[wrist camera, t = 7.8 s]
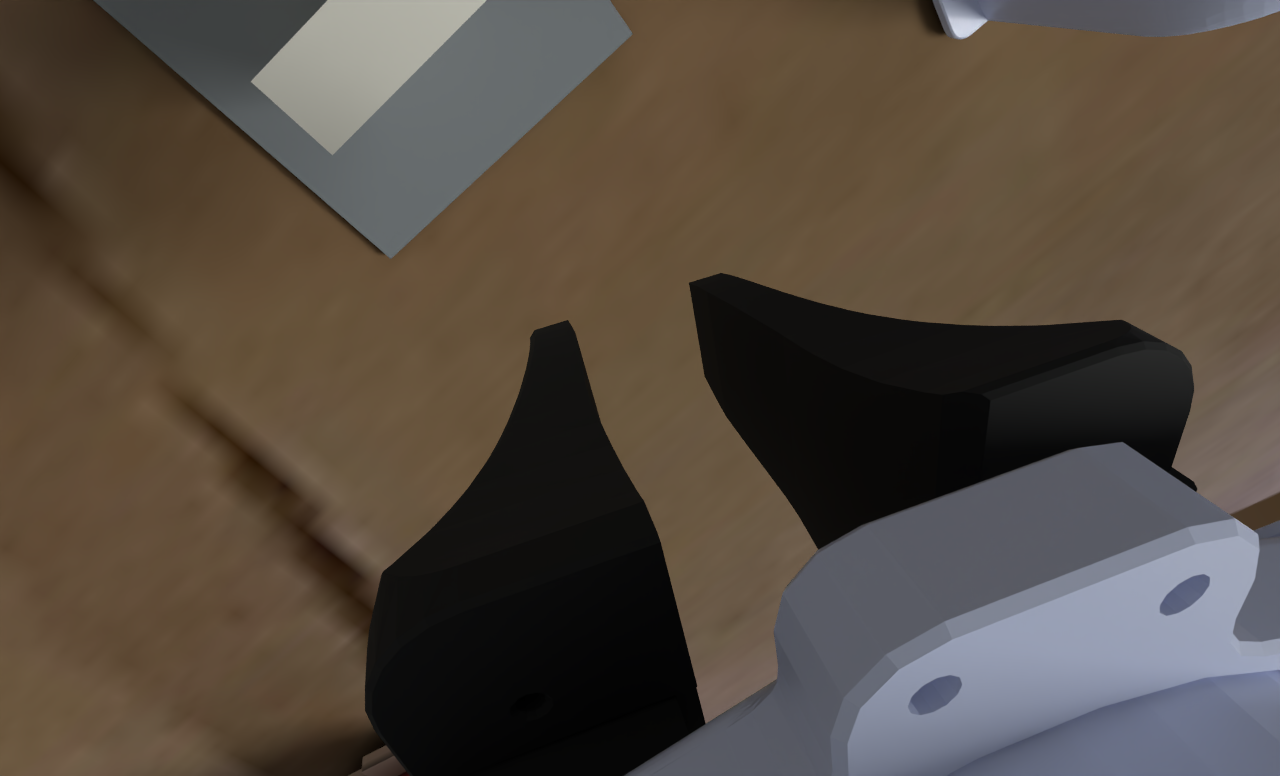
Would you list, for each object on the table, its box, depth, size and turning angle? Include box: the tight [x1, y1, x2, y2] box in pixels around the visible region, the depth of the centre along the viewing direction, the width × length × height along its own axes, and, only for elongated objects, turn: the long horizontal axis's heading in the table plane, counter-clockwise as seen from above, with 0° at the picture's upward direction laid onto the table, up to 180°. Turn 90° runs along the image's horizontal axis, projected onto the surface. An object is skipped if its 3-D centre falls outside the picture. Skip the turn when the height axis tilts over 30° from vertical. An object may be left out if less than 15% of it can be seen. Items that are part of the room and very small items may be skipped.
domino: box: [251, 0, 486, 155], centre depth 14 cm, size 2×4×6 cm, turn 129°
